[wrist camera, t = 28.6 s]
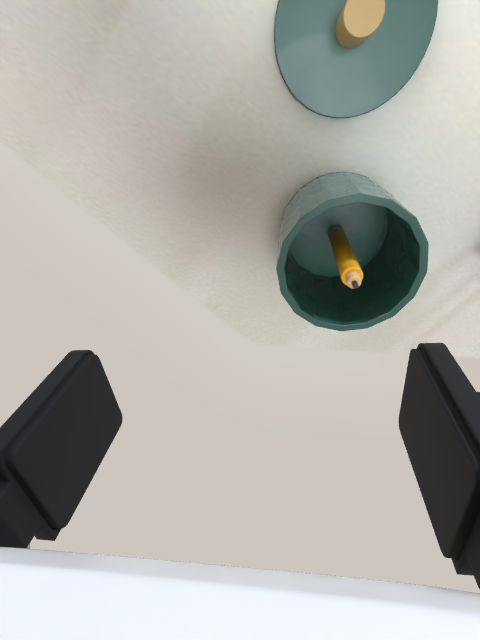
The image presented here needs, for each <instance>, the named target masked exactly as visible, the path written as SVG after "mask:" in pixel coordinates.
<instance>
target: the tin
mask: <svg viewBox="0 0 480 640" xmlns="http://www.w3.org/2000/svg"><path fill="white" fill-rule="evenodd" d="M333 225H340V226H342V228H343V229H344V231H345V234H346V236H347V238H348V241H349V243H350V245H351V247H352V249H353V252H354V254H355V256H356V258H357V261H358V263H359V265H360V267H361V270H362V272H363V279H362V281H361V285H360V286H359V287H358V288H357V289H352V288H350V287H348V286H347V285H345V284H344V283H343V282H342V280H341V277H340V273H339V270H338V267H337V263H336V260H335V257H334V253H333V250H332V247H331V243H330V240H329V237H328V230H329V228H330V227H331V226H333ZM427 265H428V241H427V239H426V237H425V235H424V233H423V230H422V228H421V226H420V224H419V222H418V220H417V218H416V217H415V216H414V215H413V214H412V213H410V212H409V211H408V210H407V209H406V208H405V207H403V206H402V205H401V204H400V203H399V202H397V201H396V200H395V199H394V198H393V197H392V196H390V195H389V194H388V193H387V192H386V191H385V190H383V189H382V188H381V187H379V186H378V185H377V184H375V183H374V182H373V181H371V180H370V179H369V178H367V177H365V176H361V175H358V174H354V173H347V172H337V173H331V174H327V175H323V176H321V177H318V178H316V179H314V180H312V181H311V182H309V183H307V184H306V185H305V186H304V187H302V188H301V189H300V190H299V191H298V192H297V193H296V194H295V195H294V197H293V198H292V199H291V201H290V202H289V204H288V206H287V207H286V209H285V211H284V215H283V219H282V224H281V228H280V234H279V245H278V257H277V275H278V280H279V285H280V291H281V294H282V295H283V297H284V298H285V299H286V301H287V302H288V304H289V305H290V307H291V308H292V309H293V311H294V312H295V313H296V314H297V315H299V316H301V317H302V318H304V319H305V320H307V321H309V322H310V323H312V324H313V325H315V326H319V327H323V328H328V329H333V330H338V331H347V330H355V329H364V328H369V327H371V326H373V325H376V324H378V323H380V322H382V321H384V320H386V319H389V318H391V317H393V316H394V315H395V314H397V313H398V312H399V311H400V310H401V309H402V308H403V307H404V306H405V305H406V304H407V303H408V302H409V301H411V300H412V299H413V298H414V296H415V295H416V293H417V291H418V289H419V287H420V285H421V283H422V281H423V279H424V277H425V275H426V273H427Z"/></svg>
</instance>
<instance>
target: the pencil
mask: <svg viewBox="0 0 480 640" xmlns="http://www.w3.org/2000/svg"><path fill="white" fill-rule="evenodd" d="M328 237H329V240H330V243H331V247H332V250H333V253H334V257H335V260H336V263H337V267H338V270H339V273H340V277H341V280H342V282H343V283H344V284H345V285H347V286H348V287H350V288H352V289H357V288H358V287H359V286H360V285H361V281H362V279H363V272H362V270H361V267H360V265H359V263H358V261H357V258H356V256H355V254H354V252H353V249H352V247H351V245H350V243H349V241H348V238H347V236H346V234H345V231H344V229H343V228H342V226H340V225H333V226H331V227H330V228H329V230H328Z"/></svg>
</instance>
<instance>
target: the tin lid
mask: <svg viewBox="0 0 480 640" xmlns="http://www.w3.org/2000/svg"><path fill="white" fill-rule="evenodd" d="M437 6H438V0H279V2H278V6H277V11H276V18H275V28H274V41H275V52H276V57H277V62H278V65H279V68H280V72H281V75H282V77H283V79H284V81H285V83H286V85H287V86H288V88H289V90H290V91H291V93H292V94H293V95H294V96H295V97H296V99H297V100H298V101H299V102H301V103H302V104H303V105H304V106H305V107H307V108H308V109H310V110H311V111H313V112H316V113H318V114H320V115H324V116H327V117H334V118H349V117H354V116H359V115H362V114H365V113H368V112H370V111H372V110H374V109H376V108H378V107H379V106H381V105H382V104H384V103H386V102H387V101H388V100H389V99H391V98H392V97H393V96H394V95H395V94H396V93H397V92H398V91H399V90H400V89H401V88H402V87H403V86H404V85H405V84H406V83H407V82H408V80H409V79H410V78H411V77H412V75H413V74H414V72H415V71H416V69H417V68H418V66H419V64H420V62H421V60H422V58H423V57H424V55H425V52H426V50H427V48H428V45H429V43H430V40H431V37H432V33H433V30H434V26H435V21H436V16H437Z"/></svg>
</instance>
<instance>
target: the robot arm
mask: <svg viewBox="0 0 480 640" xmlns="http://www.w3.org/2000/svg"><path fill="white" fill-rule="evenodd" d="M121 424H122V414H121V411H120V408H119V406H118V403H117V401H116V399H115V396H114V394H113V391H112V389H111V386H110V384H109V381H108V379H107V376H106V374H105V371H104V369H103V366H102V364H101V362H100V359H99V357H98V356H97V355H94V353H93V352H92V351H90V350H74V351H71V352H69V353H68V354H67V355H66V356H65V358H64V359H63V360H62V361H61V362H60V363H59V364H58V365H57V366H56V367H55V369H54V370H53V371H52V372H51V373H50V374H49V375H48V376H47V377H46V378H45V379H44V380H43V382H42V383H41V384H40V385H39V386H38V387H37V388H36V389H35V390H34V391H33V392H32V394H31V395H30V396H29V397H28V398H27V399H26V400H25V401H24V402H23V403H22V405H21V406H20V407H19V408H18V409H17V410H16V411H15V412H14V413H13V414H12V415H11V417H10V418H9V419H8V420H7V421H6V422H5V423H4V424H3V425H2V426H1V428H0V640H480V594H478V593H472V592H466V591H459V590H453V589H446V588H441V587H434V586H425V585H416V584H407V583H398V582H390V581H381V580H371V579H362V578H354V577H353V578H352V577H343V576H331V575H321V574H311V573H300V572H290V571H278V570H268V569H257V568H247V567H236V566H225V565H213V564H202V563H190V562H180V561H168V560H157V559H145V558H133V557H122V556H111V555H98V554H86V553H73V552H62V551H49V550H38V549H30V542H31V540H32V539H33V537H34V536H35V537H36V538H37V539H40V540H52V541H55V539H56V537H57V536H58V533H59V532H60V530H61V528H64V527H65V526H66V525H67V524H68V523H69V521H70V519H71V517H72V515H73V513H74V512H75V510H76V508H77V506H78V504H79V502H80V501H81V499H82V497H83V495H84V493H85V491H86V489H87V488H88V486H89V484H90V482H91V480H92V478H93V476H94V474H95V473H96V471H97V469H98V467H99V465H100V463H101V461H102V460H103V458H104V456H105V454H106V452H107V450H108V449H109V447H110V445H111V443H112V441H113V439H114V437H115V436H116V434H117V432H118V430H119V428H120V426H121ZM399 428H400V432H401V435H402V438H403V441H404V444H405V447H406V450H407V453H408V456H409V459H410V461H411V464H412V467H413V470H414V473H415V476H416V479H417V482H418V485H419V488H420V491H421V494H422V497H423V499H424V502H425V505H426V508H427V511H428V514H429V517H430V520H431V523H432V526H433V529H434V532H435V535H436V537H437V540H438V543H439V546H440V549H441V551H442V553H443V555H444V556H445V557H446V558H452V561H453V564H454V567H455V570H456V572H457V574H462V575H474V577H475V580H476V582H477V585H478V587H479V588H480V392H476V391H475V389H474V388H473V386H472V385H471V383H470V382H469V380H468V379H467V377H466V376H465V374H464V373H463V371H462V370H461V368H460V366H459V365H458V364H457V362H456V361H455V359H454V357H453V356H452V354H451V353H450V351H449V350H448V348H447V347H446V345H445V344H443V343H420V344H419V345H418V347H417V349H411V351H410V356H409V361H408V367H407V373H406V379H405V385H404V391H403V396H402V403H401V408H400V414H399Z"/></svg>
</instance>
